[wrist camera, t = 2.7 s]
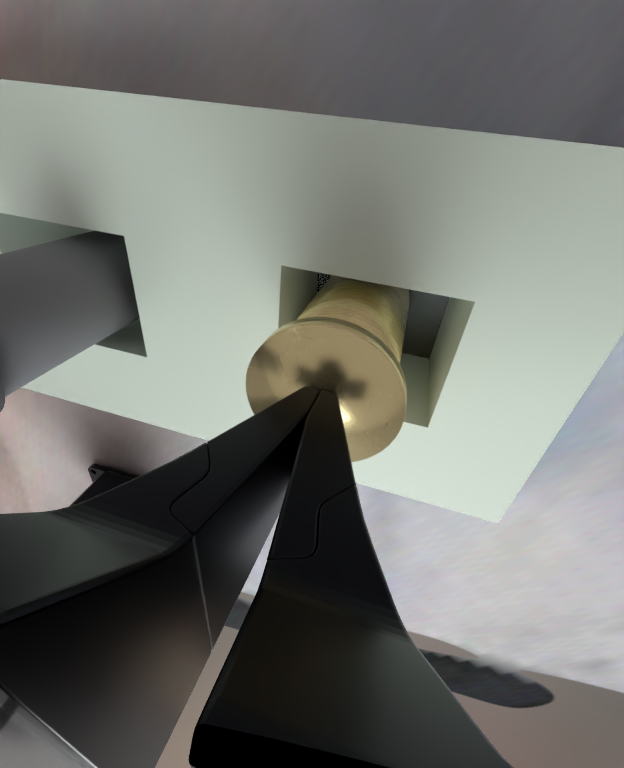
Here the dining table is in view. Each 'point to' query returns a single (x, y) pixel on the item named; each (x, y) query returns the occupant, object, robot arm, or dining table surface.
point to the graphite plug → (60, 303)
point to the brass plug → (342, 359)
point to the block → (329, 265)
